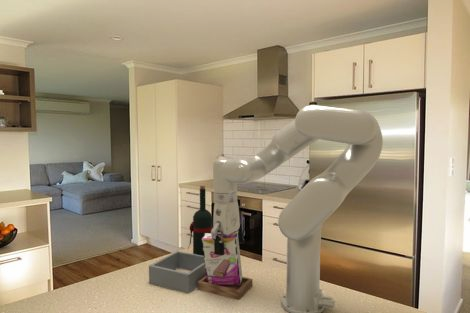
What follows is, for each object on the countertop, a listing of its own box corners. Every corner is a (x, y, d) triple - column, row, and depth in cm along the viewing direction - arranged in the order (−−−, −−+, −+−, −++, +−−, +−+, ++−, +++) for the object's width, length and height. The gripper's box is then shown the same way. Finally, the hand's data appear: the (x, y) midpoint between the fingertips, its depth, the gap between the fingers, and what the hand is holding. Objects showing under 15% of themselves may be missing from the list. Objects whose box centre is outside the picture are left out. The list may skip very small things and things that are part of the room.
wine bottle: (189, 257, 137) (189, 183, 135) (214, 258, 136) (214, 184, 134) (185, 264, 129) (184, 187, 127) (211, 265, 128) (211, 187, 126)
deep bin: (214, 274, 120) (214, 257, 120) (188, 293, 106) (188, 274, 106) (177, 266, 127) (177, 250, 127) (149, 283, 113) (148, 265, 113)
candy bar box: (207, 287, 108) (200, 239, 106) (210, 278, 113) (204, 232, 110) (241, 286, 106) (235, 237, 104) (243, 277, 111) (237, 231, 109)
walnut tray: (252, 286, 111) (252, 278, 111) (239, 299, 102) (239, 291, 102) (213, 277, 118) (213, 270, 117) (197, 289, 109) (197, 281, 108)
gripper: (222, 203, 98) (224, 260, 99) (247, 193, 114) (248, 243, 115) (201, 201, 102) (202, 256, 103) (227, 192, 117) (228, 240, 118)
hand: (226, 249), depth 109 cm, fingers open, 9 cm apart
